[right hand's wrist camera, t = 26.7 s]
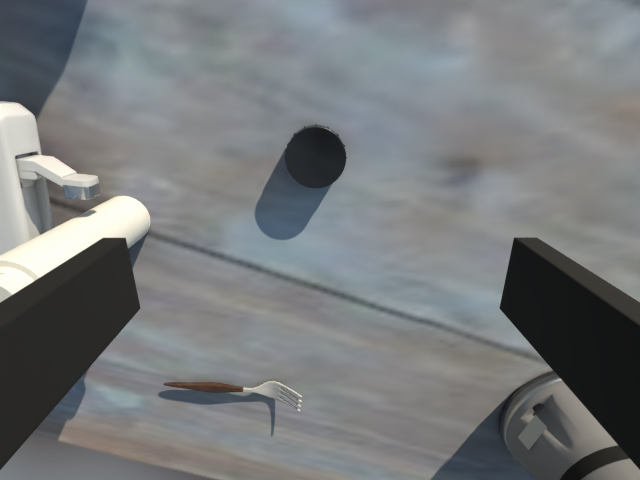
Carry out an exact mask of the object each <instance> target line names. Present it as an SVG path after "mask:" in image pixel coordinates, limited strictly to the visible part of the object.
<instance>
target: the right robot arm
mask: <svg viewBox="0 0 640 480" xmlns="http://www.w3.org/2000/svg"><path fill="white" fill-rule="evenodd" d="M139 309H140V304H139V299H138V295H137V290H136V285H135V280H134V275H133V270H132V265H131V261H130V256H129V251H128V246H127V241H126V238H102V239H100V240H99V241H97V242H96V243H94V244H92V245H91V246H89V247H88V248H86V249H84V250H83V251H81V252H80V253H78V254H76V255H75V256H73V257H72V258H70V259H69V260H67V261H65V262H64V263H62V264H61V265H59V266H57V267H56V268H54V269H53V270H51V271H49V272H48V273H46V274H45V275H43V276H42V277H40V278H38V279H37V280H35V281H34V282H32V283H30V284H29V285H27V286H26V287H24V288H23V289H21V290H19V291H18V292H16V293H15V294H13V295H11V296H10V297H8V298H7V299H5V300H3V301H2V302H0V470H1V468H2V467H3V466H4V465H5V464H6V463H7V462H8V460H9V459H10V458H11V457H12V456H13V455H14V453H15V452H16V451H17V450H18V449H19V448H20V447H21V445H22V444H23V443H24V442H25V441H26V440H27V438H28V437H29V436H30V435H31V434H32V433H33V432H34V430H35V429H36V428H37V427H38V426H39V425H40V423H41V422H42V421H43V420H44V419H45V418H46V417H47V415H48V414H49V413H50V412H51V411H52V410H53V409H54V407H55V406H56V405H57V404H58V403H59V402H60V400H61V399H62V398H63V397H64V396H65V395H66V394H67V392H68V391H69V390H70V389H71V388H72V387H73V385H74V384H75V383H76V382H77V381H78V380H79V379H80V377H81V376H82V375H83V374H84V373H85V372H86V370H87V369H88V368H89V367H90V366H91V365H92V364H93V362H94V361H95V360H96V359H97V358H98V357H99V355H100V354H101V353H102V352H103V351H104V350H105V349H106V347H107V346H108V345H109V344H110V343H111V342H112V340H113V339H114V338H115V337H116V336H117V335H118V334H119V332H120V331H121V330H122V329H123V328H124V327H125V325H126V324H127V323H128V322H129V321H130V320H131V319H132V317H133V316H134V315H135V314H136V313H137V312H138V310H139ZM500 309H501V310H502V312H503V313H504V314H505V315H506V316H507V317H508V319H509V320H510V321H511V322H512V323H513V324H514V325H515V327H516V328H517V329H518V330H519V331H520V332H521V334H522V335H523V336H524V337H525V338H526V339H527V340H528V342H529V343H530V344H531V345H532V346H533V347H534V349H535V350H536V351H537V352H538V353H539V354H540V355H541V357H542V358H543V359H544V360H545V361H546V362H547V364H548V365H549V366H550V367H551V368H552V369H553V370H554V371H551V372H548V373H546V374H543V375H541V376H539V377H536V378H535V379H533V380H531V381H529V382H528V383H526V384H525V385H523V386H522V387H521V388H520V389H518V390H517V391H516V392H515V393H514V394H513V395H512V396H511V397H510V399H509V400H508V401H507V403H506V404H505V406H504V408H503V410H502V413H501V416H500V420H499V430H500V434H501V437H502V439H503V441H504V443H505V444H506V446H507V448H508V450H509V452H510V453H511V455H512V456H513V457H514V458H515V459H516V460H517V461H518V462H519V463H520V464H521V465H522V466H523V467H524V468H525V469H526V470H527V471H528V472H529V473H530V474H531V475H532V476H533V477H534V478H535V479H536V480H640V302H638V301H637V300H635V299H633V298H632V297H630V296H629V295H627V294H625V293H624V292H622V291H621V290H619V289H617V288H616V287H614V286H613V285H611V284H610V283H608V282H606V281H605V280H603V279H602V278H600V277H598V276H597V275H595V274H594V273H592V272H591V271H589V270H587V269H586V268H584V267H583V266H581V265H579V264H578V263H576V262H575V261H573V260H571V259H570V258H568V257H567V256H565V255H564V254H562V253H560V252H559V251H557V250H556V249H554V248H552V247H551V246H549V245H548V244H546V243H544V242H543V241H541V240H540V239H538V238H514V241H513V246H512V251H511V256H510V261H509V265H508V270H507V275H506V280H505V285H504V290H503V295H502V299H501V304H500Z"/></svg>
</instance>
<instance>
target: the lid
mask: <svg viewBox="0 0 640 480" xmlns="http://www.w3.org/2000/svg"><path fill="white" fill-rule="evenodd" d="M338 136H339V135H338V134H336V133H335V132H334V131H332V130H331V129H329V127H324V126H320V125H317V124H316V125H312V126H307V127H305V126H304V128H303V129H301V130H299V131H298V132H297V133H294V136H293V137H292V139H291V141H290V142H289V143H288V144H287V146H288V147H287V150H286V156H285V158H286V165H287V169H288V170H289V172H290V174H291V175H292V177H293V178H294V179H295V180H296V181H297V182H299V183H300V184H302V185H304V186H307V187H310V188H321V187H325V186H328V185H330V184H332V183H333V182H335V181H336V180H337V179H338V178H339V176H340V175H341V174H342V172H343V170H344V167H345V163H346V159H347V157H346V152H345V148H344V147H345V145H344V144H343V143H342V141H341V139H340V138H339V137H338Z"/></svg>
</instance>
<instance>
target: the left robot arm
mask: <svg viewBox="0 0 640 480" xmlns="http://www.w3.org/2000/svg"><path fill="white" fill-rule="evenodd" d="M46 178H47V179H49V180H51V181H53V182H54V183H56V184H58V185H60V186H62V187H63V188H64V194H65V198H77V197H78V198H79V199H84V200H88V199H93V198H94V197H95V196H99V195H100V192H99V182H98V176H94V175H85V174H77V172H76V171H74V170H73V169H71V168H70V167H68V166H67V165H65V164H64V163H62V162H61V161H59V160H58V159H56V158H55V157H52V156H42V153H41V147H40V142H39V136H38V130H37V123H36V119H35V116H34V115H33V114H32V113H31V112H30V111H29V110H27V109H26V108H25V107H23V106H22V105H21V104H19V103H15V102H3V101H0V255H2V254H4V253H6V252H8V251H10V250H12V249H14V248H16V247H18V246H20V245H22V244H24V243H26V242H28V241H30V240H32V239H33V238H35V237H37V236H39V235H41V234H43V233H45V232H47V231H49V230H51V229H53V228H54V223H53V217H52V212H51V206H50V200H49V194H48V188H47V182H46Z"/></svg>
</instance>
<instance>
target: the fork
mask: <svg viewBox="0 0 640 480" xmlns="http://www.w3.org/2000/svg"><path fill="white" fill-rule="evenodd" d="M164 385H166V386H171V387H178V388H185V389H192V390H199V391H205V392H254V393H258V394H261V395H264V396H267V397H270V398H273V399H276V400H279V401H282V402H284V403H286V404H288V405H290V406H291V407H293V408H295V409H297V410H298V411H300V410H299V409H298V408H296V407H295V406H293V405H292V404H290V403H289V402H287V401H285V400H284V399H282V398H281V397H283V398H285V399H287V400H289V401H291V402H293V403H295V404H296V405H298V406H300V407H301V405H299V404H298V403H296V402H295V401H293V400H292V399H290V398H289V397H287V396H285V395H283V394H282V393H281V392H283V393H285V394H287V395H289V396H291V397H293V398H295V399H296V400H298V401H300V402H301V400H299V399H298V398H296V397H295V396H293V395H292V394H290V393H288V392H287V391H285V390H283V389H282V388H285V389H287V390H289V391H291V392H293V393H295V394H296V395H298V396H300V397H302V396H301V395H300V394H298V393H296V392H295V391H293V390H292V389H290V388H288V387H287V386H285V385H283V384H281V383H279V382H276V381H268V382H265V383H263V384H261V385H259V386H257V387H255V388H244V387H239V386H233V385H228V384H222V383H212V382H203V383H182V382H171V383H164Z"/></svg>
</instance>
